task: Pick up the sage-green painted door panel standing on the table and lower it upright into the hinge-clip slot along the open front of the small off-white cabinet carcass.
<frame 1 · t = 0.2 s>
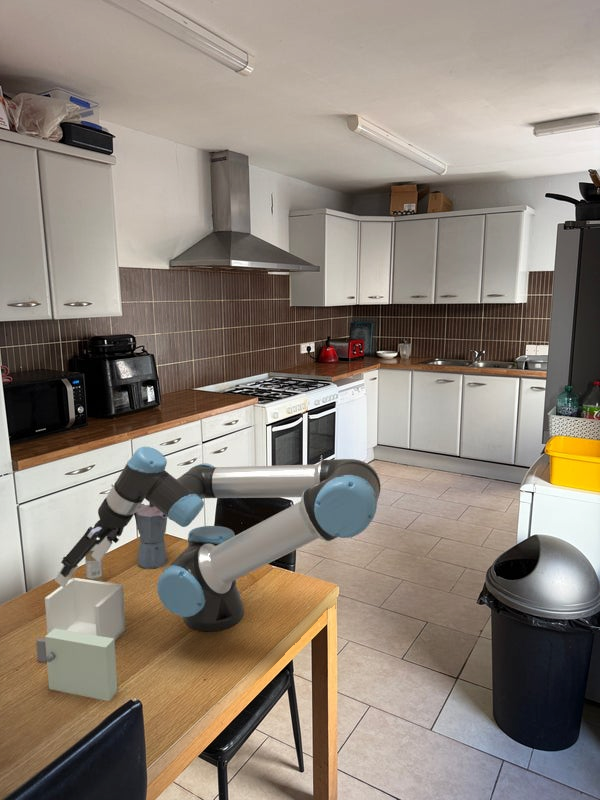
hand: (78, 570, 133), 15 cm above the table, tool tilted 35°, fingers open, 13 cm apart
moka pot: (151, 562, 171), on the table
door: (83, 690, 115), on the table
sprinkles bottle: (95, 586, 157), on the table
cabinet: (87, 637, 133), on the table
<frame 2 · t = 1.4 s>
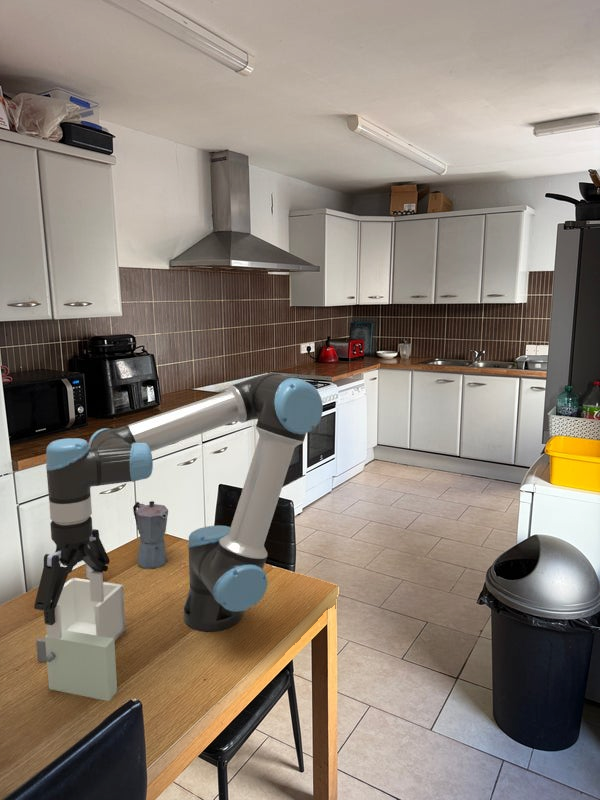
hand: (77, 618, 112), 16 cm above the table, tool pointing down, fingers open, 13 cm apart
nothing on the table moved.
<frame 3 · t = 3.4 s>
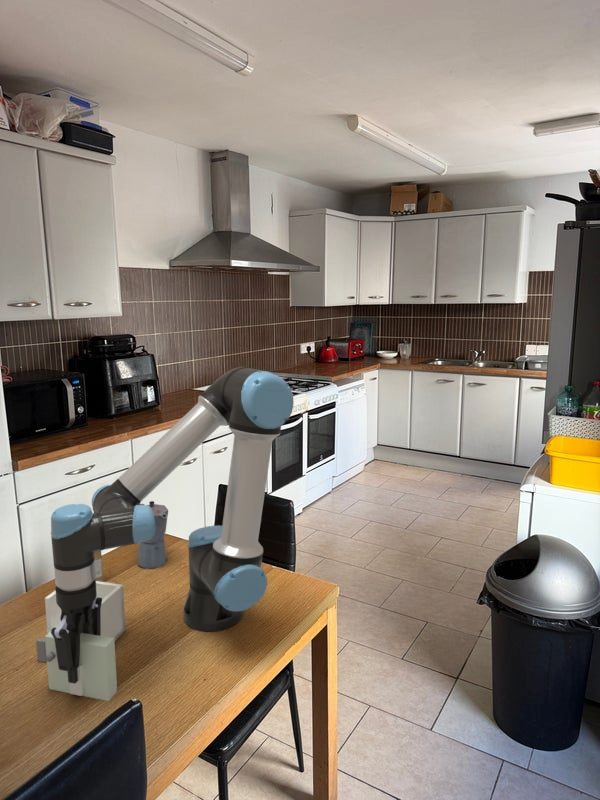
hand: (82, 687, 115), 1 cm above the table, tool pointing down, fingers closed on door, 3 cm apart
door: (83, 690, 115), on the table, touching gripper
everything else where it was.
when the fingers open (2 cm above the table, at t = 8.9 s): door drops 1 cm, on the table.
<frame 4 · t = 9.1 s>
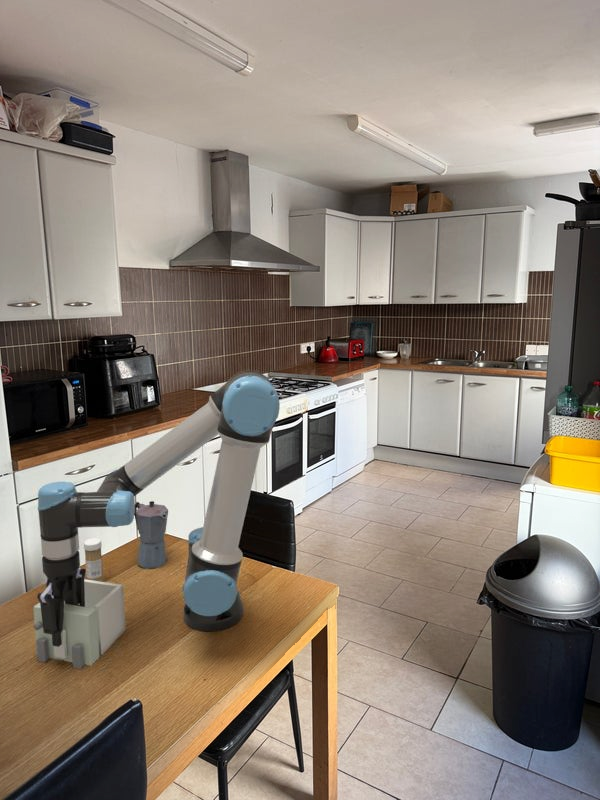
hand: (67, 650, 125), 2 cm above the table, tool pointing down, fingers open, 4 cm apart
door: (68, 656, 126), on the table
everything else where it was.
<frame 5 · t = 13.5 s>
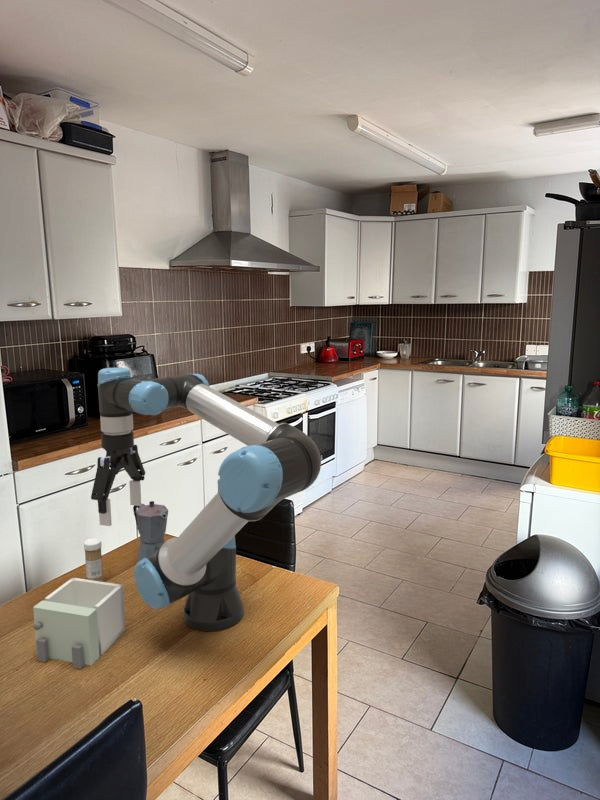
hand: (121, 514, 139), 27 cm above the table, tool pointing down, fingers open, 13 cm apart
nothing on the table moved.
at the end: door 0.1 cm from the target spot on the cabinet, point 0.0 cm above the cabinet's base; door tilted 0°; the gripper is holding nothing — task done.
